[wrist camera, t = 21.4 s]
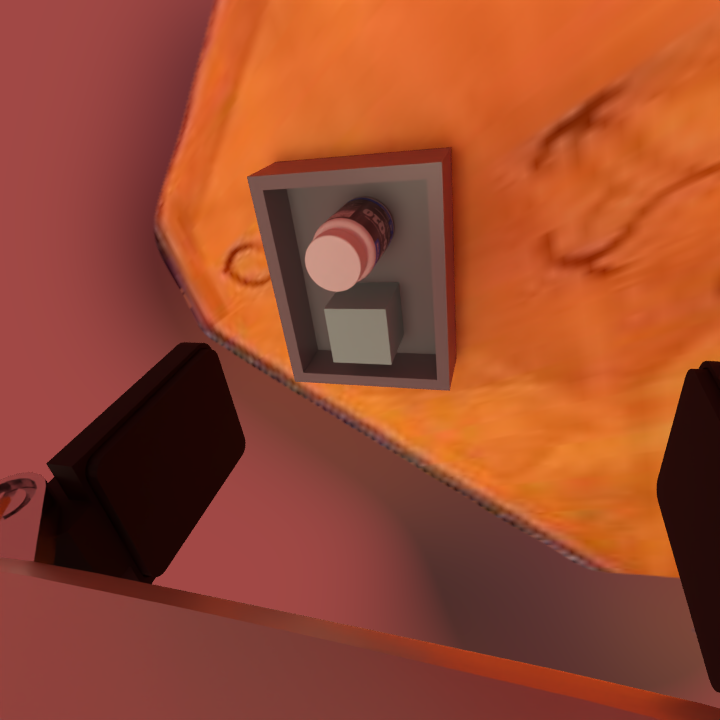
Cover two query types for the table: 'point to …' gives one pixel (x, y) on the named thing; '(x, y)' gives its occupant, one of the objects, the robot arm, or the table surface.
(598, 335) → the table surface
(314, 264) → the pill bottle
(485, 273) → the table surface
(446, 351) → the tote
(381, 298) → the gray cube
